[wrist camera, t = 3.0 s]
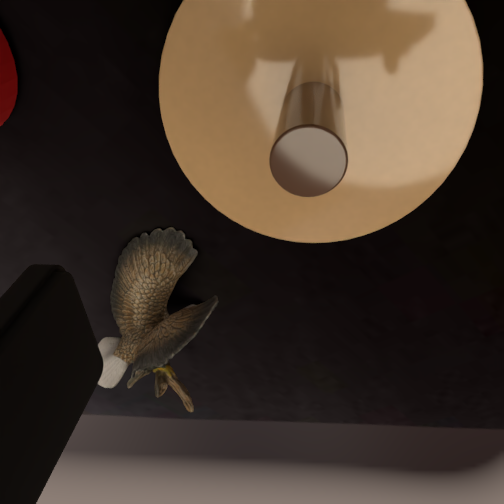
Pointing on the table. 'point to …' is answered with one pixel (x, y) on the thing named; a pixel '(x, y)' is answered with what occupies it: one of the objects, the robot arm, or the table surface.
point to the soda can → (7, 80)
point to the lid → (319, 108)
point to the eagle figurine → (151, 312)
